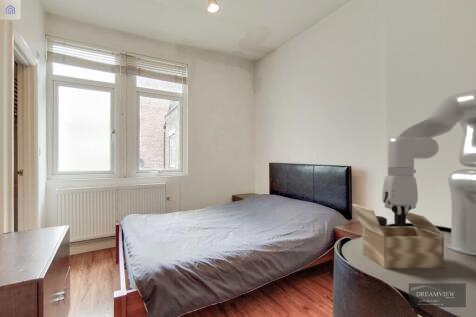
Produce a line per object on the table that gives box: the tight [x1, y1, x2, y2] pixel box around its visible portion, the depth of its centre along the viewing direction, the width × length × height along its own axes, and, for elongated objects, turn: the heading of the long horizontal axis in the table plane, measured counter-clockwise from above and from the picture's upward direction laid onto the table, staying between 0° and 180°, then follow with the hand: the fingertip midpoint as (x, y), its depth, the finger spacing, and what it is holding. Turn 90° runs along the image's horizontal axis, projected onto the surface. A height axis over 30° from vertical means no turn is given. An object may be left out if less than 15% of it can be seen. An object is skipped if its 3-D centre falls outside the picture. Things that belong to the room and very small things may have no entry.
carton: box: [362, 226, 445, 270], centre depth 83 cm, size 20×12×10 cm, turn 94°
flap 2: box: [406, 211, 444, 236], centre depth 83 cm, size 9×12×1 cm
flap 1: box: [351, 203, 385, 236], centre depth 82 cm, size 9×12×1 cm
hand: (400, 225), depth 83 cm, fingers closed
